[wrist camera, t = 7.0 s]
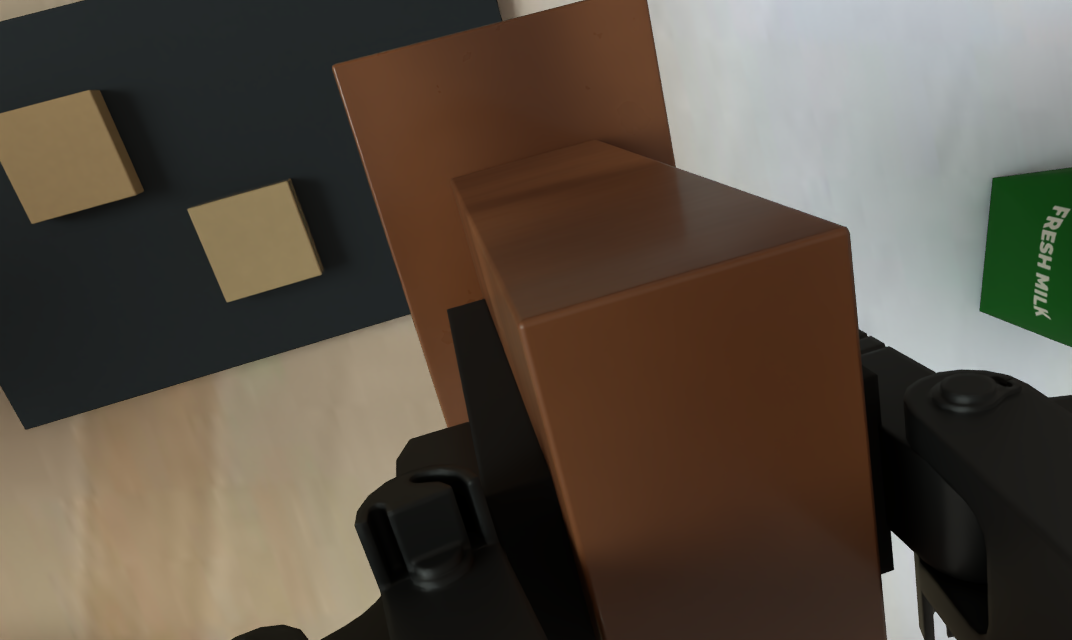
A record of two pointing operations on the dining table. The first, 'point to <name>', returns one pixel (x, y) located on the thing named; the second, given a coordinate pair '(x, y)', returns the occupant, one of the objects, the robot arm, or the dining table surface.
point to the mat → (194, 188)
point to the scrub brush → (634, 325)
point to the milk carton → (1031, 253)
